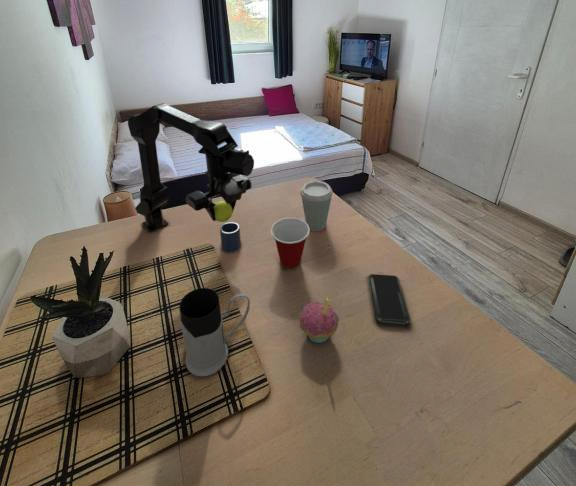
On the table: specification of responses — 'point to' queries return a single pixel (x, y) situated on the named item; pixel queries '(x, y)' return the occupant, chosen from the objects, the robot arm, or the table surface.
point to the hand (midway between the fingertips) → (222, 216)
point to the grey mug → (205, 330)
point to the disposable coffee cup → (316, 203)
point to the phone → (388, 300)
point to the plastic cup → (290, 240)
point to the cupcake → (318, 321)
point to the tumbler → (230, 237)
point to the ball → (223, 211)
